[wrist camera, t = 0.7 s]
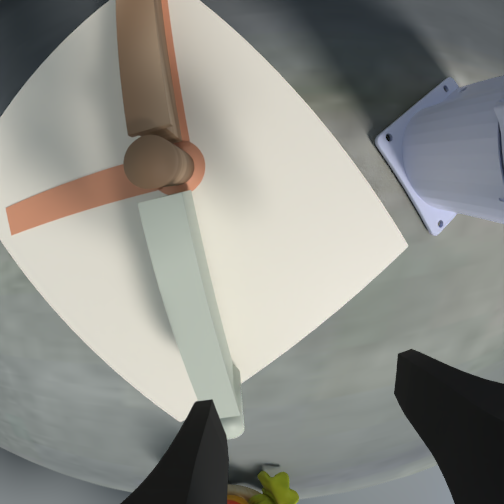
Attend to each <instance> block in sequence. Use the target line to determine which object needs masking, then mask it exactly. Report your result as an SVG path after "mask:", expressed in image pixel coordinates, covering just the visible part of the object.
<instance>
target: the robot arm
mask: <svg viewBox="0 0 504 504" xmlns="http://www.w3.org/2000/svg"><path fill="white" fill-rule="evenodd" d="M443 87H444V88H445V90H444V88H443ZM387 134H388V135H389V137H390V140H389V141H387V139H386V135H387ZM375 144H376V147H377V148H378V149H379V151H380V152H381V154H382V155H383V157H384V158H385V160H386V161H387V163H388V164H389V166H390V167H391V169H392V170H393V172H394V173H395V175H396V176H397V178H398V179H399V181H400V183H401V184H402V186H403V187H404V189H405V191H406V192H407V194H408V196H409V197H410V199H411V201H412V202H413V204H414V206H415V208H416V209H417V211H418V213H419V215H420V216H421V218H422V220H423V222H424V224H425V225H426V227H427V229H428V231H429V233H430V234H432V235H438V234H439V233H440V232H441V231H442V230H443V229H444V228H445V227H446V226H447V224H448V223H449V222H450V221H451V220H452V219H453V218H454V217H455V216H456V214H457V213H460V214H464V215H469V216H473V217H477V218H481V219H486V220H490V221H494V222H498V223H502V224H504V75H503V76H499V77H495V78H491V79H488V80H484V81H480V82H477V83H473V84H470V85H466V86H463V87H458V85H457V84H456V82H455V81H454V79H453V78H451V77H449V78H446V79H445V80H443V81H442V82H441V83H440V84H439V85H437V86H436V87H435V88H434V89H433V90H431V91H430V92H429V93H428V94H427V95H425V96H424V97H423V98H422V99H421V100H419V101H418V102H417V103H416V104H415V105H413V106H412V107H411V108H410V109H409V110H407V111H406V112H405V113H404V114H403V115H401V116H400V117H399V118H398V119H397V120H395V121H394V122H393V123H392V124H391V125H389V126H388V127H387V128H386V129H385V130H383V131H382V132H381V133H380V134H379V135H377V137H376V138H375ZM439 221H440V225H439V226H438V222H439ZM394 394H395V396H396V398H397V400H398V403H399V405H400V407H401V408H402V410H403V412H404V414H405V416H406V417H407V419H408V420H409V421H410V423H411V424H412V426H413V427H414V429H415V430H416V431H417V433H418V434H419V436H420V437H421V439H422V440H423V441H424V443H425V444H426V446H427V447H428V449H429V450H430V451H431V453H432V455H433V456H434V458H435V460H436V462H437V464H438V466H439V468H440V470H441V472H442V474H443V476H444V478H445V480H446V483H447V485H448V487H449V490H450V492H451V495H452V497H453V500H454V503H455V504H504V384H502V383H498V382H494V381H490V380H486V379H483V378H480V377H477V376H474V375H471V374H469V373H466V372H463V371H461V370H458V369H456V368H454V367H451V366H449V365H447V364H444V363H442V362H440V361H438V360H436V359H433V358H431V357H429V356H427V355H425V354H422V353H420V352H418V351H415V350H413V349H410V350H408V351H405V352H402V353H399V354H398V361H397V372H396V382H395V391H394ZM228 464H229V457H228V446H227V436H226V433H225V431H224V428H223V426H222V423H221V420H220V418H219V415H218V413H217V410H216V407H215V405H214V402H213V399H211V400H203V401H196V402H195V403H194V404H193V406H192V408H191V410H190V412H189V414H188V416H187V418H186V420H185V421H184V423H183V425H182V427H181V429H180V430H179V432H178V434H177V435H176V437H175V439H174V440H173V442H172V444H171V445H170V447H169V448H168V450H167V451H166V453H165V454H164V456H163V457H162V459H161V460H160V461H159V463H158V464H157V465H156V467H155V468H154V469H153V471H152V472H151V473H150V474H149V475H148V477H147V478H146V479H145V480H144V481H143V482H142V483H141V484H140V486H139V487H138V488H137V489H136V490H135V491H134V492H133V493H132V494H130V496H128V497H127V498H126V499H125V500H124V501H123V502H122V503H121V504H227V491H228Z"/></svg>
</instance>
